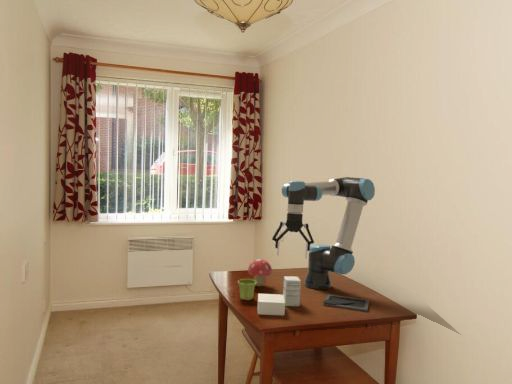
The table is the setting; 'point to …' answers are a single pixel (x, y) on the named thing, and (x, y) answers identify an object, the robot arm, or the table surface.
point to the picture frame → (346, 303)
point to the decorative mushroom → (260, 271)
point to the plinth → (271, 304)
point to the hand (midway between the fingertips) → (291, 256)
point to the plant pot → (246, 288)
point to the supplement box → (291, 291)
